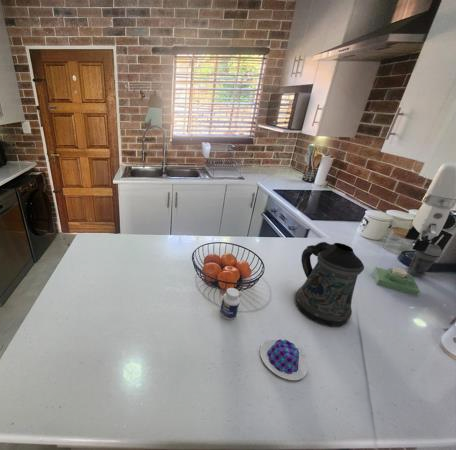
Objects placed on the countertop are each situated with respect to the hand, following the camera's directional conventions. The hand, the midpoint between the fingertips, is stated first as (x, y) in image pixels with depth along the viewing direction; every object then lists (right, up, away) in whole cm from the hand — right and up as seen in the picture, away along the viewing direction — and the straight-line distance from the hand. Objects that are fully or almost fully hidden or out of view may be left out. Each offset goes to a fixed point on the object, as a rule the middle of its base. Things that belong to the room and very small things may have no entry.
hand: (414, 244), depth 90 cm
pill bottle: (-70, -23, -7) cm, 74 cm away
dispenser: (+1, -17, +9) cm, 20 cm away
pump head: (+1, -13, +7) cm, 14 cm away
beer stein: (-38, -22, -2) cm, 44 cm away
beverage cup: (+18, -14, +17) cm, 28 cm away
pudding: (-59, -31, -21) cm, 70 cm away
